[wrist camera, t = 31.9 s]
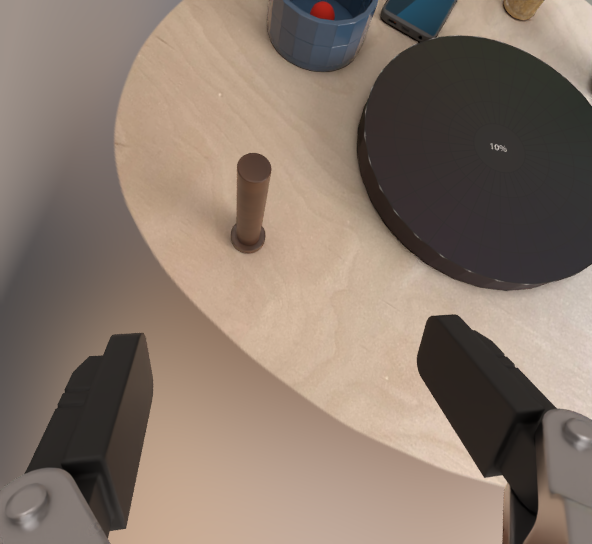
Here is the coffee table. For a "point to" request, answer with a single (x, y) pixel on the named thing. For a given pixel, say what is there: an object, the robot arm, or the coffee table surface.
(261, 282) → the coffee table surface
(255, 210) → the stick
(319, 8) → the red ball
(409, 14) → the smartphone
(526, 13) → the spice jar
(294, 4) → the bowl
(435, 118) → the disc
